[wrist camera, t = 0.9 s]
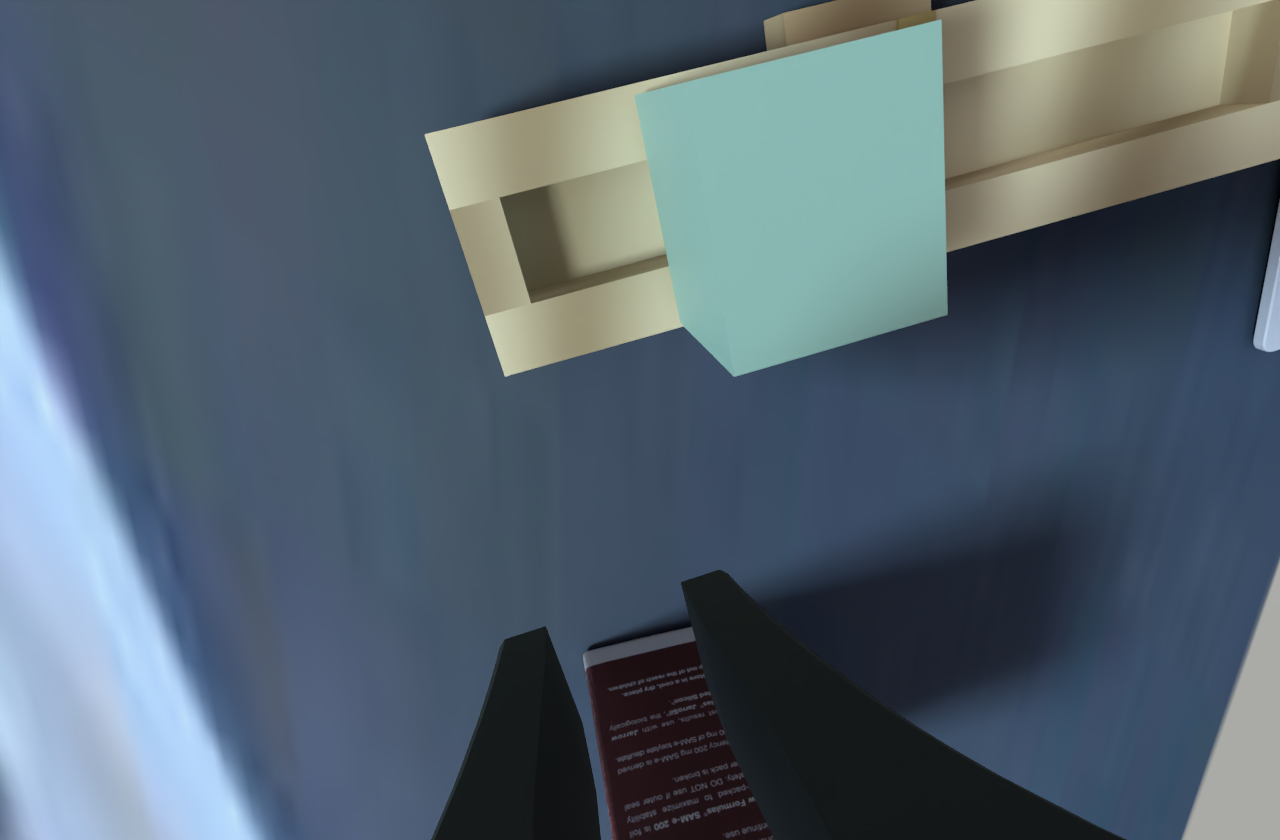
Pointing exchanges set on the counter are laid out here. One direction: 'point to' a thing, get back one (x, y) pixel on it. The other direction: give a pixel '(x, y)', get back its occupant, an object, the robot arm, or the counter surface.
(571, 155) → the beam
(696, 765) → the supplement box
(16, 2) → the counter surface
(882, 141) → the block
